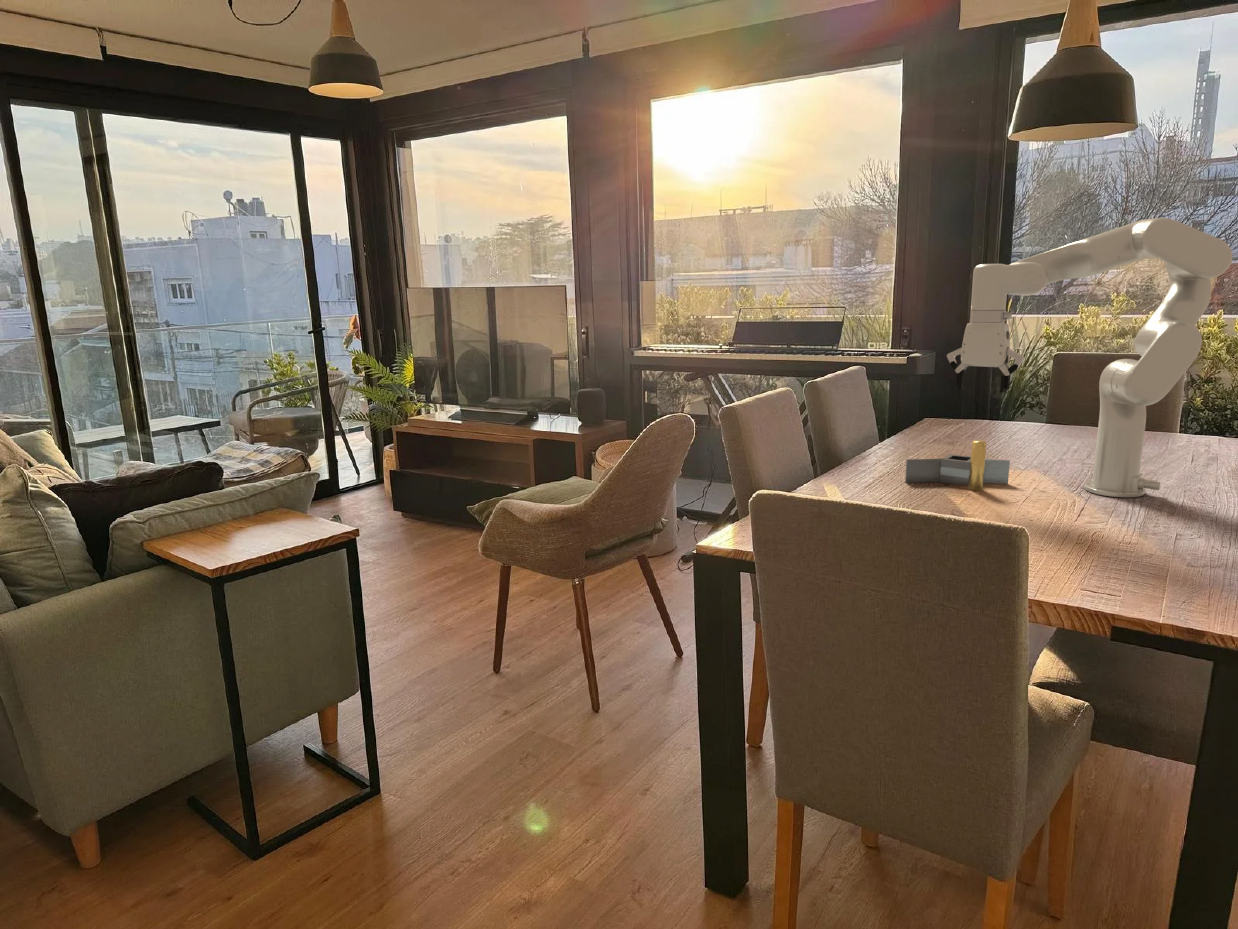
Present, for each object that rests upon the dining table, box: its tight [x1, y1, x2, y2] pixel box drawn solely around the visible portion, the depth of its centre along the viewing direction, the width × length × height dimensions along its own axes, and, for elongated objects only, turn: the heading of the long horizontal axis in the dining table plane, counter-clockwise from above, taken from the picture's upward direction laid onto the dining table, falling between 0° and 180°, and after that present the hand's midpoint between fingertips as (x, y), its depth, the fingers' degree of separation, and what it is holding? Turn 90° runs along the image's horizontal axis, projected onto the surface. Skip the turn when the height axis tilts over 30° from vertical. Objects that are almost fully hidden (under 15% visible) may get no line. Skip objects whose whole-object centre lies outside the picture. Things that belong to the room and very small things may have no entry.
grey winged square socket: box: [904, 453, 1011, 487], centre depth 211 cm, size 21×13×6 cm, turn 51°
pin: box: [968, 439, 987, 492], centre depth 204 cm, size 3×3×12 cm
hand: (982, 390), depth 200 cm, fingers open, 9 cm apart
